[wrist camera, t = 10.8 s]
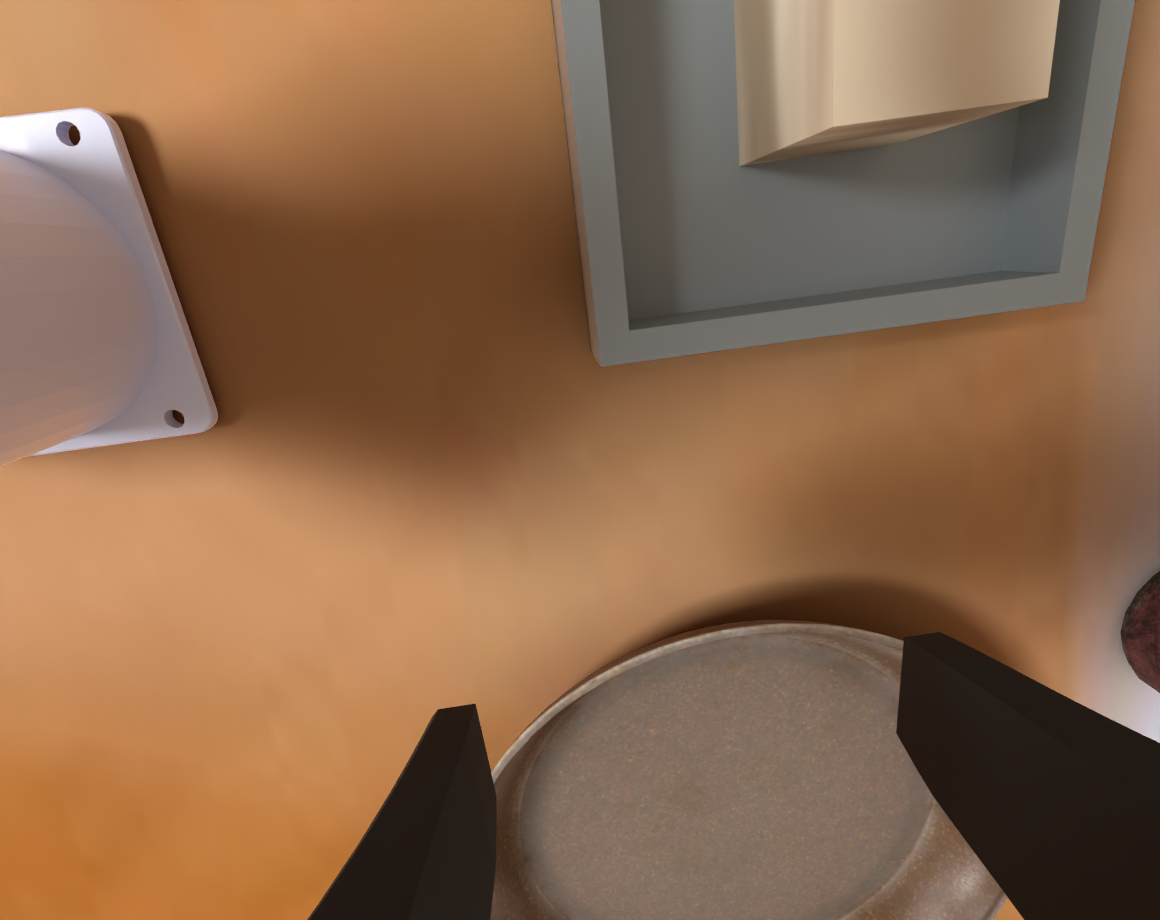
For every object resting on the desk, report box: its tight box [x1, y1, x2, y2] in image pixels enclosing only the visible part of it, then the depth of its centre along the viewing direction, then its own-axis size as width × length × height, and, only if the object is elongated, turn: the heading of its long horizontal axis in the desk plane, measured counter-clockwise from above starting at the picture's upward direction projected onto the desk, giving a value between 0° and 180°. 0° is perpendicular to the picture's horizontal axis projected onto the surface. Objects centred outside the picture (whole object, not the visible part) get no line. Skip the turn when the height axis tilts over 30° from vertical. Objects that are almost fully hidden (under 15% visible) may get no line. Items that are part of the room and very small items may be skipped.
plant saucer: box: [490, 620, 1007, 920], centre depth 22 cm, size 21×21×3 cm
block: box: [734, 0, 1060, 166], centre depth 12 cm, size 4×4×5 cm
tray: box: [551, 0, 1135, 367], centre depth 14 cm, size 13×13×2 cm
